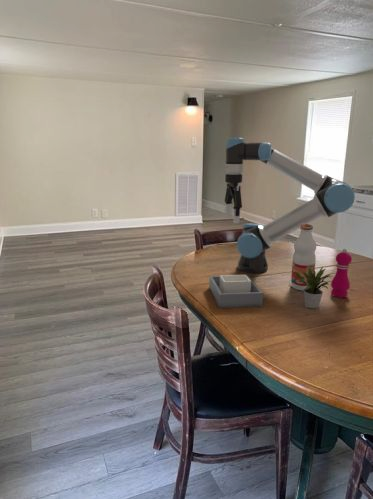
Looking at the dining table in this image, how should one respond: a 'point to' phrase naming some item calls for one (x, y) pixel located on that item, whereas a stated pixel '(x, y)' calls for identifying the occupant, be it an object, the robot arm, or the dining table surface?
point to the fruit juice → (303, 256)
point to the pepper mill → (341, 275)
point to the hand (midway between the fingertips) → (232, 220)
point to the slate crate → (235, 295)
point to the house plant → (314, 287)
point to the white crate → (234, 284)
